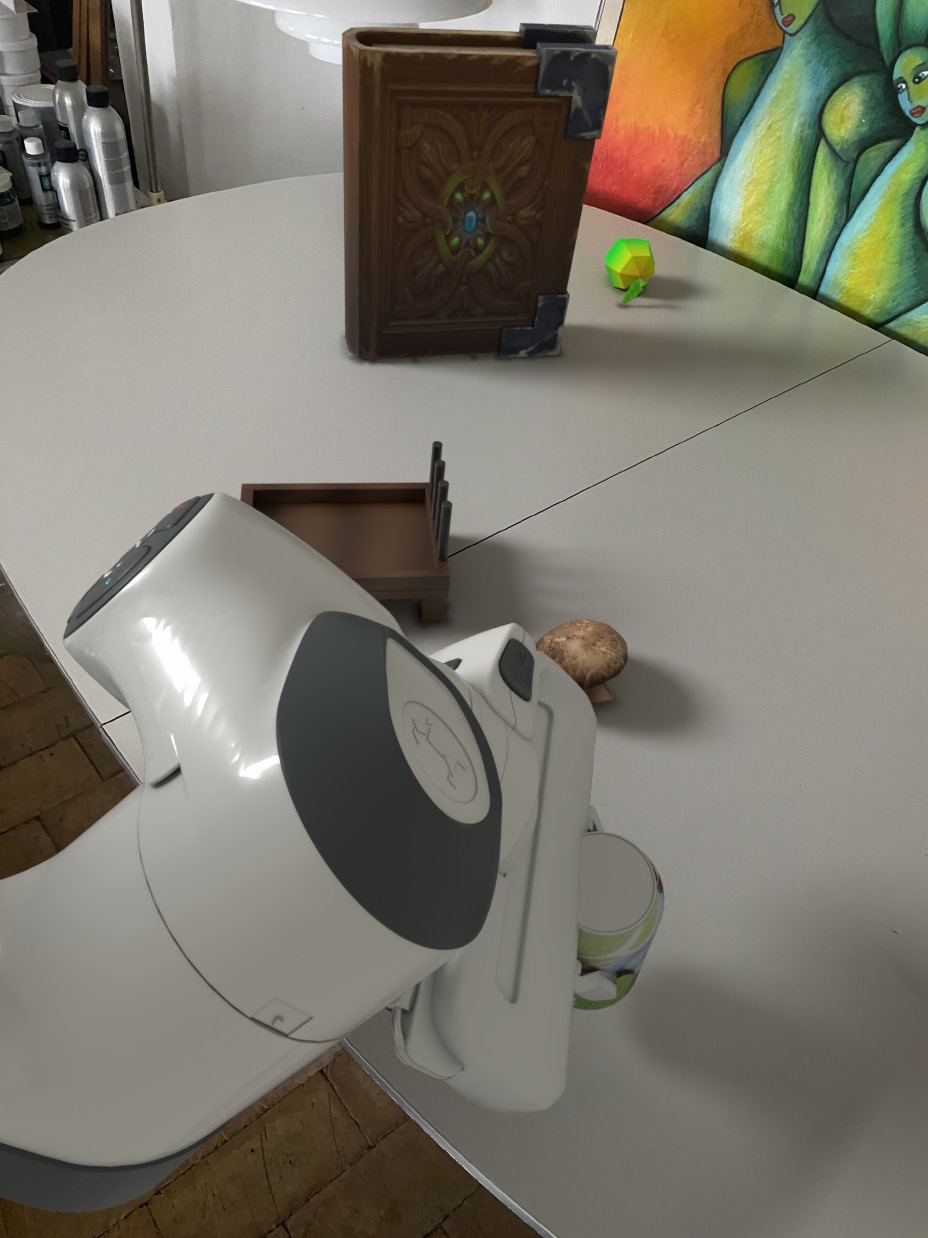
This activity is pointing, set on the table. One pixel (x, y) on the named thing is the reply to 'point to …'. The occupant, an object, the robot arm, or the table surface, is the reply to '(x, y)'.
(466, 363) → the table surface
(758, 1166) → the table surface
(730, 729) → the table surface
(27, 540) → the table surface
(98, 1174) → the robot arm
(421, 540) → the tray
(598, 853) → the beverage can
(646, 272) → the apple
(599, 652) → the mushroom
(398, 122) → the decorative book
